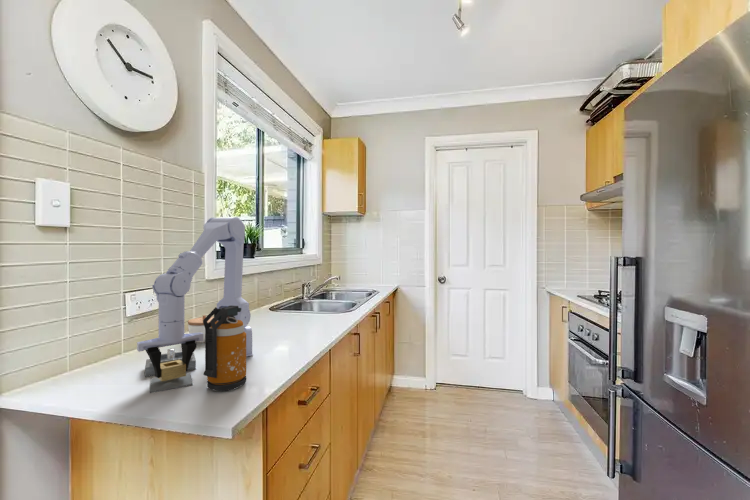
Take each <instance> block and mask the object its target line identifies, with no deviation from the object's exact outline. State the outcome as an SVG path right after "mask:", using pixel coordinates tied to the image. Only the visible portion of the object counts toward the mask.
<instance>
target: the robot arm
mask: <svg viewBox="0 0 750 500" xmlns="http://www.w3.org/2000/svg"><path fill="white" fill-rule="evenodd" d="M245 231H246V226H245V224H244V222H243V220H242V219H241V218H240V217H239V216H237V217H236V216H234V217H233V216H232V217H210V218H208V219H207V220H206V222H205V223H204V224H203V231H202V232H201V234H200V236H199V237H198V238H197V240H196V241H195V243H194V244H193V246H192V247H191V248H190V250H189V251H188V250H187V251H186V250H185V251H182V252H180V254H178V257H177V259H176V260H175V261H174V262H173V264H172V265H171V266H170V267H168V268H167V271H166V272H165V273H162V274H160V275H158V276H157V277H156V278H155V280H154V283H153V284H152V285H151V286H152V290H153V293H154V294H155V296H156V301H157V302H158V337H156V338H155V337H154V338H151V339H147V340H141V341H137V342H136V351H137V352H139V353H140V352H144V351H145V352H146V354H147V355H148V357H149V359H150V360H151V362H152V364H153V367H154V371H155V376H154V377H155V378H160V377H161V368H160V361H161V354H162V351H161V350H160V348H164V347H169V346H176V345H181V346H180V347H181V351H182V362H184V363H185V364H186V373H188V371H189V370H188V365H189V362H190V359H191V356H192V354H193V353H194V352H195V350H196V349H197V345H198V344H197V343H198V342H195V341H203V333H201V332H199V333H190V334H189V333H185V318H186V317H185V316H186V314H185V310H186V309H185V303H186V302H185V295H186V294H187V293H188V292H190V289H191V285H192V284H191V283H192V281H193V277H194V276H195V274H196V273H197V272H198V270H199V269H200V268H201V266H202V265H203V259H202V258H203V257H204V256H205V255H206V253H208V251H209V250H210V249H211V248H212V247H213V246H214V245H215V244H216V243H218V244H220V245H222V246H223V247H224V250H225V252H224V253H225V255H224V277H223V297H222V298H221V299H220V300H219V301H218V302H217V303H216V308H217V309H220V308H224V307H228V306H238V308H241V312H238V315H236V316H234V317H235V319H237V320H241V321H242V322H243V324H244V332H245V333H246V358H247V357H251V356H253V355H254V354H253V330H252V326H248V325H249V323H250V321H251V311H250V303H249V302H248V301H247V300H246V299H245V298H243V297H242V296H243V295H242V294H243V293H242V291H243V268H244V267H243V266H244V244H245V235H246V234H245V233H246V232H245ZM217 321H218V320H217ZM187 370H188V371H187Z"/></svg>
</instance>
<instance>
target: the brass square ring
mask: <svg viewBox="0 0 750 500" xmlns="http://www.w3.org/2000/svg"><path fill="white" fill-rule="evenodd" d="M160 368H161V377H160V378H159V379H160V380H161V381H166V380H170V379H175V378H179V377H183V376H186V373H187V372H186V364H185V363H184V362H182V361H181V360H175V361H170V362H165V363H160Z"/></svg>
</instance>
